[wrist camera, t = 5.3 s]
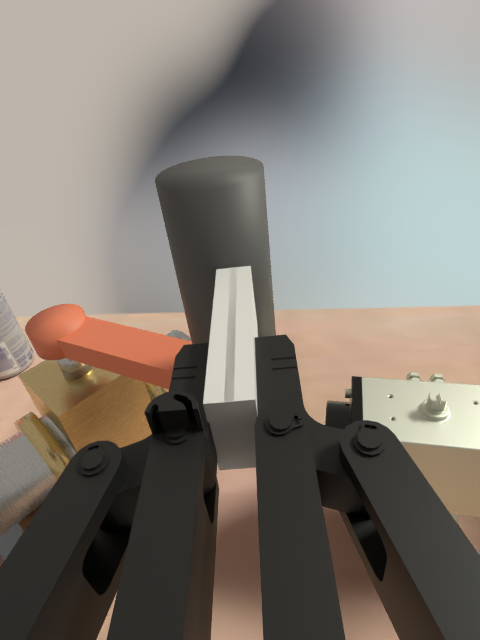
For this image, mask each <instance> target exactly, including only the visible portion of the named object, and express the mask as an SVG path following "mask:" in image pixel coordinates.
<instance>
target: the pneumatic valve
mask: <svg viewBox="0 0 480 640" xmlns="http://www.w3.org/2000/svg"><path fill="white" fill-rule="evenodd" d="M430 381H431V382H428V381H421V377H420V375H419V374H418V373H416V372H411V373H409V374H408V375H407V380H399V379H384V378H369V377H355V376H352V381H351V389H345V398H350V402H339V401H327V407H326V423H325V425H326V426H329V427H334V428H339V429H343V430H344V429H345V427H346V426H347V425H349V424H351V423H353V422H355V421H362V420H369V421H375V422H378V423H380V424H382V425H384V426H386V427H388V428H389V429H390V430H391V431H392V432H393V433H394V434H395V435H396V437H397V438H398V439H399V441H400V442H401V444H402V445H403V447H404V448H405V449H406V451H407V452H408V454H409V455H410V457H411V458H412V459H413V461H414V462H415V464H416V465H417V467H418V468H419V469H420V471H421V472H422V474H423V475H424V477H425V478H426V480H427V481H428V482H429V484H430V485H431V487H432V488H433V490H434V491H435V492H436V494H437V495H438V497H439V498H440V500H441V501H442V502H443V504H444V505H445V507H446V508H447V510H448V511H449V512H450V514H451V515H452V517H453V518H454V520H455V521H456V522H457V520H458V515H462V516H470V517H477V518H480V385H472V384H457V383H445V380H444V377H443V376H442V375H441V374H433V375H432V376H431V377H430Z"/></svg>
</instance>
